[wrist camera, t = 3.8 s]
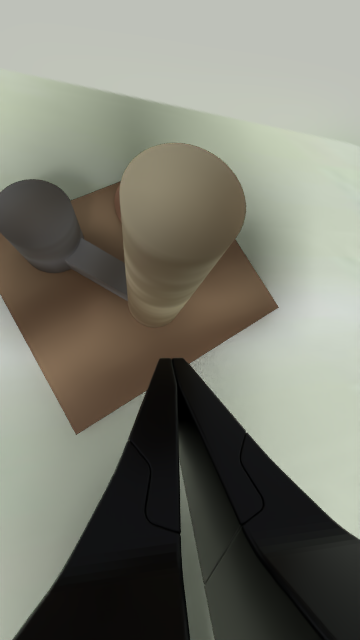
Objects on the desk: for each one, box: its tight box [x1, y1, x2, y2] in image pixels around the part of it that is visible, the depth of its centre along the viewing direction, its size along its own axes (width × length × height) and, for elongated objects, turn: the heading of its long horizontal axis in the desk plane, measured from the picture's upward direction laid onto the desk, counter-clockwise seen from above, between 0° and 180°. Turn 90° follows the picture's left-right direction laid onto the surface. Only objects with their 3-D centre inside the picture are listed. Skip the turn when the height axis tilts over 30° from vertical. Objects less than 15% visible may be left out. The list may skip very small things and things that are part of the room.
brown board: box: [0, 181, 278, 435], centre depth 17 cm, size 13×15×1 cm
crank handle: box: [0, 143, 246, 328], centre depth 11 cm, size 10×4×10 cm, turn 61°
